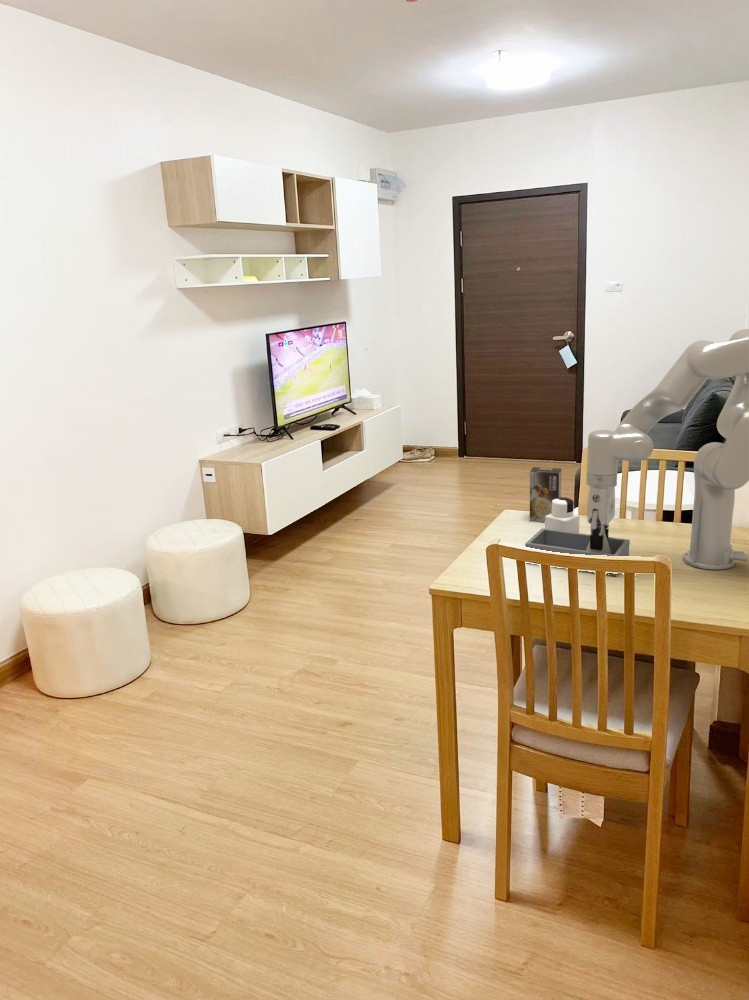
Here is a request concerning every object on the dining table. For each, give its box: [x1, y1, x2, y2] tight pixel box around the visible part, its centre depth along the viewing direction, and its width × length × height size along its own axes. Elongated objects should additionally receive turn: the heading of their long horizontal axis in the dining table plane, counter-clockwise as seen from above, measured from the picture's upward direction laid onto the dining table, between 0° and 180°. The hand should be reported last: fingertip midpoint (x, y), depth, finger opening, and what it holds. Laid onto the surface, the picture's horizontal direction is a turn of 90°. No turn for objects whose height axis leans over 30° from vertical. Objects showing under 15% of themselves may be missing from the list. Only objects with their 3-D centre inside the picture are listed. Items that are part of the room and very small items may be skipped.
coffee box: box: [529, 466, 562, 523], centre depth 242 cm, size 9×6×16 cm
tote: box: [524, 527, 631, 578], centre depth 208 cm, size 24×14×6 cm, turn 60°
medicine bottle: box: [544, 496, 581, 533], centre depth 225 cm, size 7×7×12 cm
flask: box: [586, 521, 612, 554], centre depth 204 cm, size 7×7×10 cm
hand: (599, 545), depth 205 cm, fingers closed on flask, 4 cm apart
